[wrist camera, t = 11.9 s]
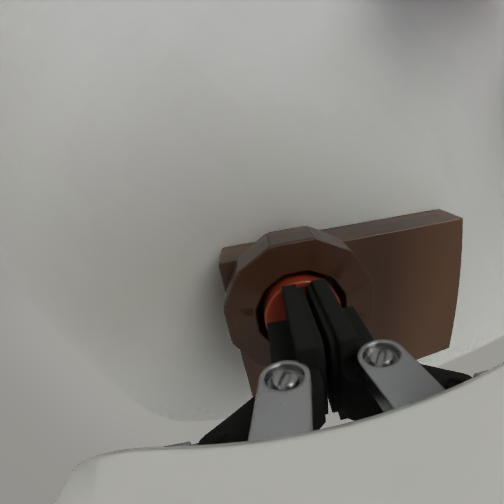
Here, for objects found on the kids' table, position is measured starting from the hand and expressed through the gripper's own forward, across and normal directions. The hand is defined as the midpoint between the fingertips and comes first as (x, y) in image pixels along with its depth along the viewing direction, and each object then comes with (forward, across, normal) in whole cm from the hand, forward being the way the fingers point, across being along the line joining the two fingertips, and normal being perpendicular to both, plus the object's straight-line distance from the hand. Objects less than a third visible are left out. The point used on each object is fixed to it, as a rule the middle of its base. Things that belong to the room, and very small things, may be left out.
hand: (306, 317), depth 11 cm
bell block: (+4, -3, +2) cm, 5 cm away
